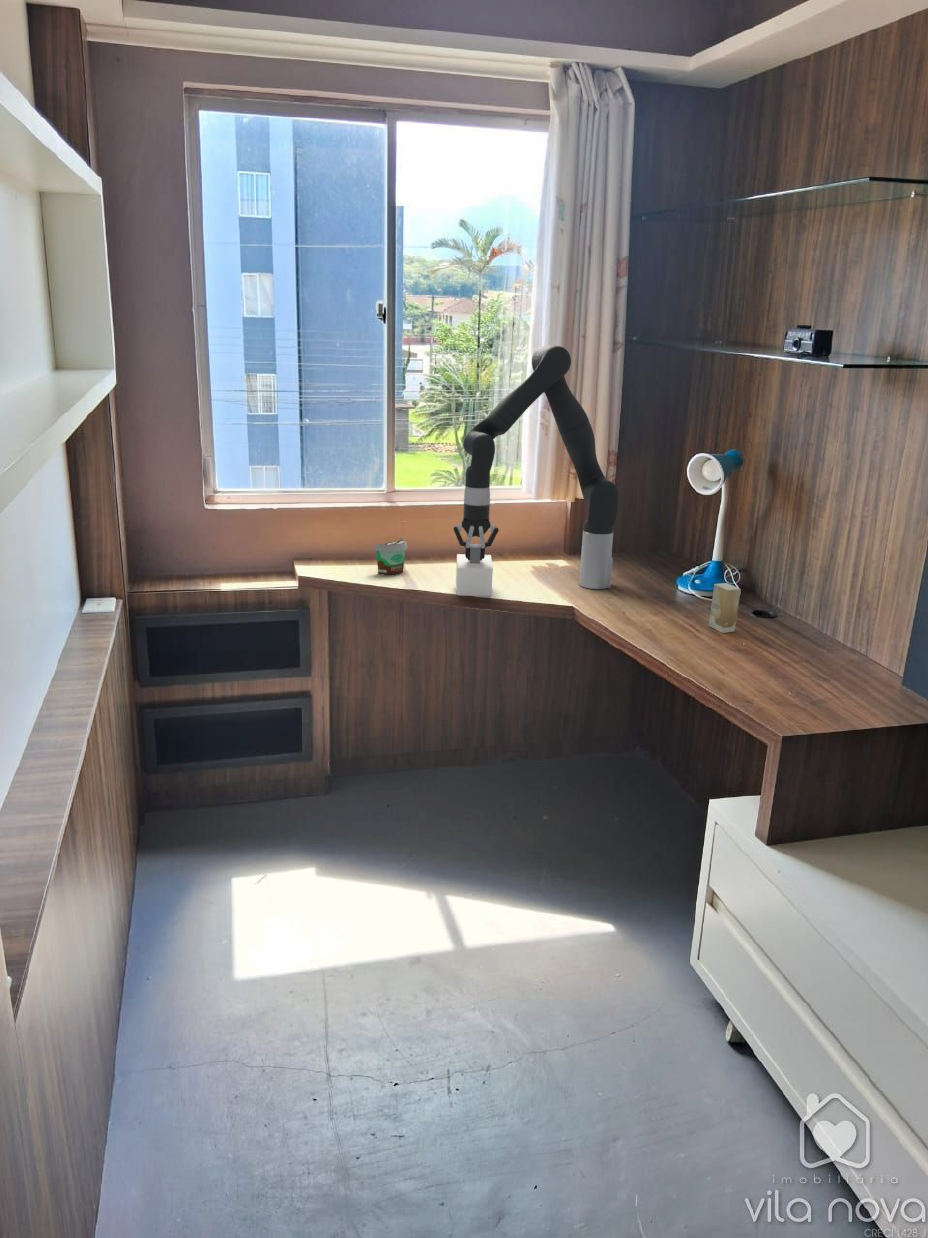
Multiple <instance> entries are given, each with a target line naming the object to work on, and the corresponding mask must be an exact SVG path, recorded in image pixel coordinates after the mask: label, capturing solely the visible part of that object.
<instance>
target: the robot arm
mask: <svg viewBox="0 0 928 1238" xmlns="http://www.w3.org/2000/svg"><path fill="white" fill-rule="evenodd" d="M571 365H572V358H571V354H570V352H569V351H568V350H567V349H566V348H565V347H563V346H560V345H543V346H540V347H538V348H537V349H536V350H534V352H533V354H532V357H531V368H532V371H533V372H532V373H531V374H530V375H529V376H528V377H527V378H526V380H524V381H523V382H522V383H521V384H520V385H518V386H517V387H516V388H515V389H513V390H512V391H511V392H510V393H508V394H507V395H506V396H505V397H504V398H502V400H501V401H500V402H499V403H497V405H496V406H495V407H494V408H493V410H492V411H490V413H489V414H488V415H487V417H485V418H484V419H483V420H481V421H479V423H477V424H476V425H475V426H473V428H471V429H470V430H469V431H468V432H467V434H466V435H465V437H464V440H463V444H462V445H463V449H464V451H465V452H466V453H467V454H468V455H470V456H471V459H470V460H471V461H470V465H469V466H467V468H466V471H465V484H464V485H465V487H464V492H463V516H462V517H463V518H462V521H461V522H460V523H459V524H457V525H453V527H452V529H453V532H454V533H455V536H456V539H457V541H458V544H459V546H461V547H464V548H465V549H464V550H465V553H464V554H465V557H466V558H468V560H470V544H472V543H471V542H472V539H473V538H474V537H477V538H479V542H480V543H479V544H480V546H481V552H480V561H482V559H484V557H485V555H486V548H487V547H491V546H493V543H494V541H495V539H496V537H497V534H499V531H500V530H499V527H498V526H497V525H495V526H494V525H493V524H492V523H491V521H490V511H491V510H490V507H491V489H490V484H491V470H492V467H493V462H494V459H495V453H496V443H495V439H496V438H497V437H498V436H502V435H505V434H506V433H507V432H508V431H509V430H510V429H511V428H512V427H513V425H514V424H516V422H517V421H518V420H519V419H520V418H521V416H522V415H523V414H524V413H525V412H526V411H527V410H528V409H529V408H530V407H531V405H532V404H534V402H535V401H536V400H537V399H539V397H541V395H543V394H545V396H546V399H547V402H548V405H549V407H550V411H551V413H552V416H553V418H554V421H555V423H556V426H557V429H558V432H559V434H560V437H561V439H562V443H563V445H564V446H565V449H566V451H567V454H568V456H569V459H570V461H571V464H572V465H573V467H574V470H575V472H576V475H577V480H578V483H579V487H580V491H581V495H582V497H583V500H584V501H585V503H586V504H587V505H588V506H589V508H588V514H587V518H586V520H584V522H583V525H582V526H583V527H582V541H581V552H580V553H581V554H580V567H579V568H580V570H579V579H578V580H579V583H578V584H579V586H580V587H582V588H584V589H591V590H604V589H611V585H612V584H611V583H612V573H613V562H614V561H613V560H614V559H613V557H612V554H613V553H612V552H613V542H614V541H613V540H614V531H615V530H614V528H615V527H616V524H617V521H618V514H619V504H620V491H619V488H618V486H617V485H616V484H615V483H614V482H612V481H610V480H608V479H607V478H606V477H605V475H604V473H603V471H602V468H601V465H600V463H599V461H598V458H597V449H596V439H595V434H594V431H593V427H592V424H591V423H590V422H591V421H590V420H589V417H588V415H587V412H586V411H585V410H584V408H583V406H582V405H581V402H579V401H578V399H577V397H576V396H575V395H574V394H573V392H572V391H571V389H570V388H569V385H568V383H567V381H566V380H567V379H566V378H565V375H566V374H567V373H568V372H569V370H570V368H571ZM462 529H463V531H464V532H465V533H466V540H464V539H463V537H462V534H461V532H462ZM488 530H490V531H489V532H490V535H489V537H488V539H487V541H486V540H485V534H486V533H487V532H488Z"/></svg>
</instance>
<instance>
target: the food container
mask: <svg viewBox="0 0 928 1238" xmlns="http://www.w3.org/2000/svg"><path fill="white" fill-rule="evenodd" d="M407 549H408V544H407V541H406V539H405V538H402V537H399V540H398V541H389V542H386V543H383V544H380V543H376V544H375V547H374V551H376V564H377V574H378V575H381V574H384V575H383V576H396V574H398V575H402V574H403V573H404V566H405V556H406V550H407Z"/></svg>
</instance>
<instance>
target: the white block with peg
mask: <svg viewBox="0 0 928 1238" xmlns="http://www.w3.org/2000/svg"><path fill="white" fill-rule="evenodd" d="M480 552H481V544H480V543H470V560H468V558H466V557H465V553H464V554H463V553H462V554H461V553H457V554H456V567H455V568H456V570H455V571H456V572H455V585H456V586H455V589H456V596H465V597H466V596H473V597H474V596H475V597H476V596H477V597H479V596H480V597H492V591H493V571H494V569H493V568H494V567H493V561H492V555H491V554H485V557H484V559H482V561H480Z"/></svg>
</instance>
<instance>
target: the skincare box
mask: <svg viewBox="0 0 928 1238" xmlns="http://www.w3.org/2000/svg"><path fill="white" fill-rule="evenodd" d="M713 585H714V586H713V592H712V599H711V606H710V614H709V620H708V627H710V628H712V629H714V630H716V631H717V632H719V633H721V634H725V633H734V632H735V630H736V624H737V617H738V611H739V610H738V609H739V605H740V599H741V598H740V596H741V591H742V589H741V588H739V587H737V586H735V585H732V584H730V583H728V582H723V583H722V582H721V583H720V582H719V583H714V584H713Z"/></svg>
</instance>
